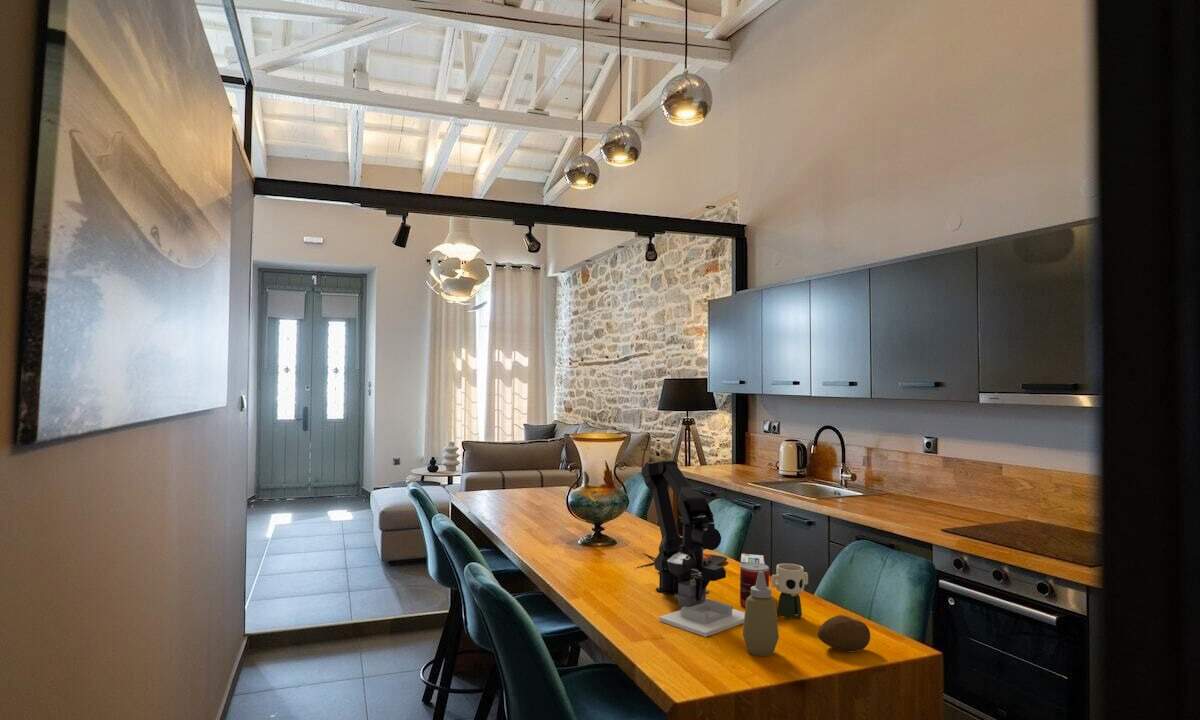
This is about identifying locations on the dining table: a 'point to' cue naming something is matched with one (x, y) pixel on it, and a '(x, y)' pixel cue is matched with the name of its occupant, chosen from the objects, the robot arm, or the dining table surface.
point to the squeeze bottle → (760, 620)
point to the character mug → (789, 588)
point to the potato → (844, 633)
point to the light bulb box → (752, 558)
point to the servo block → (689, 594)
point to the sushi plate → (708, 557)
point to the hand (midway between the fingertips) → (692, 598)
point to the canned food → (750, 579)
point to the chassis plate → (705, 618)
